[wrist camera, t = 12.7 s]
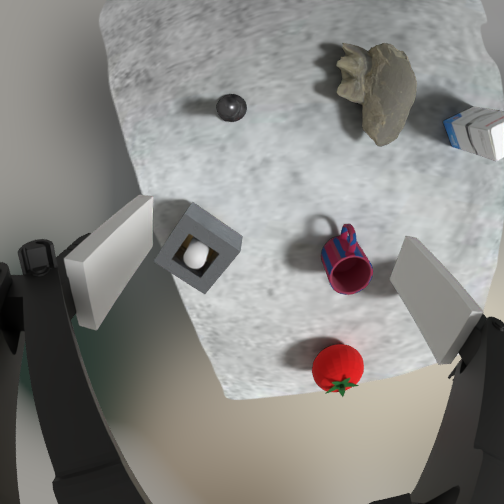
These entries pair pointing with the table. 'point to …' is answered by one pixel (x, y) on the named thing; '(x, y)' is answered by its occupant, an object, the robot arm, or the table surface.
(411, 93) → the fossil
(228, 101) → the dark grey round-topped piece
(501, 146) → the ink box
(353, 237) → the mug
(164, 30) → the table surface
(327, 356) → the tomato
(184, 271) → the grey square bin
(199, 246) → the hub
